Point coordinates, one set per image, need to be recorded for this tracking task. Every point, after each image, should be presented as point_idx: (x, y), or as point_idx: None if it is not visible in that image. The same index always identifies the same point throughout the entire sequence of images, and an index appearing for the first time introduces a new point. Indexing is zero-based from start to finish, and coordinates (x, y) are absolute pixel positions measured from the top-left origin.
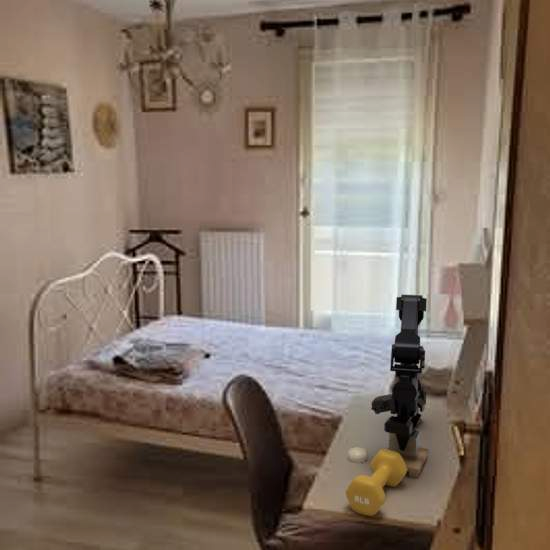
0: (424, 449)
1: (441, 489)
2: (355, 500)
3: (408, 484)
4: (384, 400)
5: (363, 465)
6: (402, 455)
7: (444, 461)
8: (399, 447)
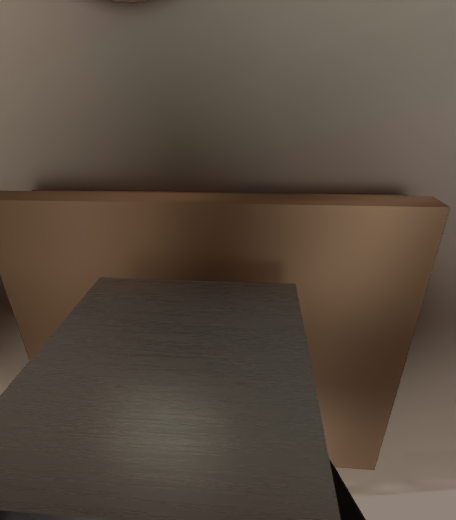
0: (360, 450)
1: None
2: None
3: (3, 365)
4: None
5: (27, 13)
6: None
7: (339, 471)
8: None
